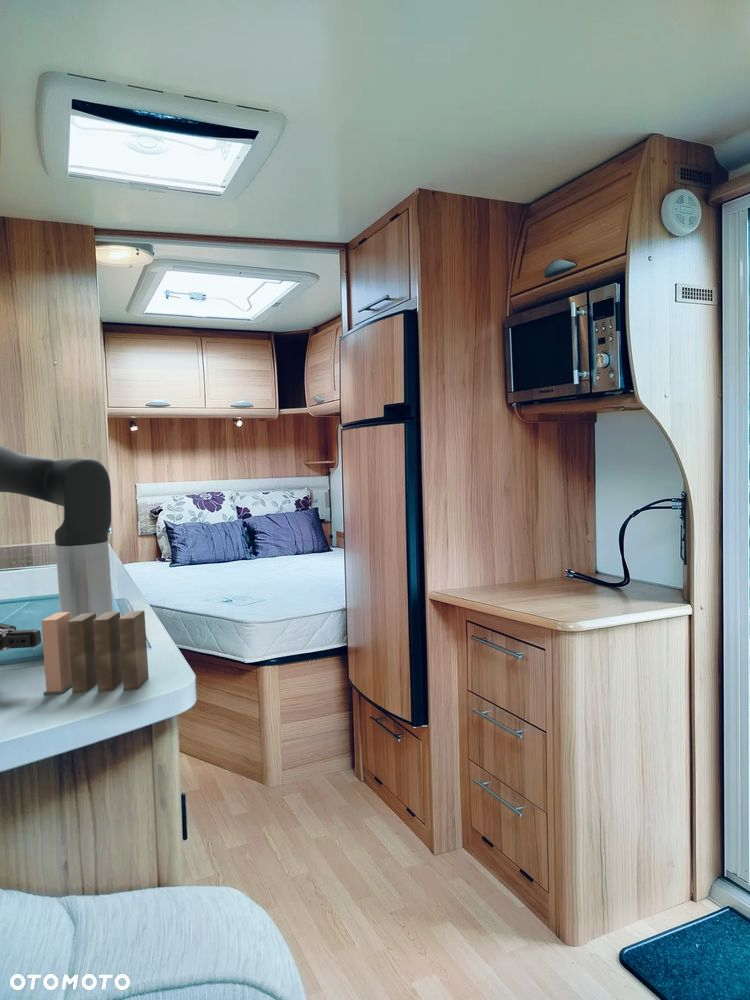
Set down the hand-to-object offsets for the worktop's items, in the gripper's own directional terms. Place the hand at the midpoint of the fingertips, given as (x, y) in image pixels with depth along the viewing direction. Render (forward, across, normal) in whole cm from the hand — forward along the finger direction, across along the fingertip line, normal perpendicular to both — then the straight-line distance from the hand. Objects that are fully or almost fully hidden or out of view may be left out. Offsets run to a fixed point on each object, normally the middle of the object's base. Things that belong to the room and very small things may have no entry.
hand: (38, 638), depth 97 cm
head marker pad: (+3, 0, +7) cm, 8 cm away
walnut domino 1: (+6, 0, +7) cm, 10 cm away
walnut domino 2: (+10, 0, +7) cm, 12 cm away
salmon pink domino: (+3, 0, +7) cm, 8 cm away
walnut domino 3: (+13, 0, +7) cm, 15 cm away
